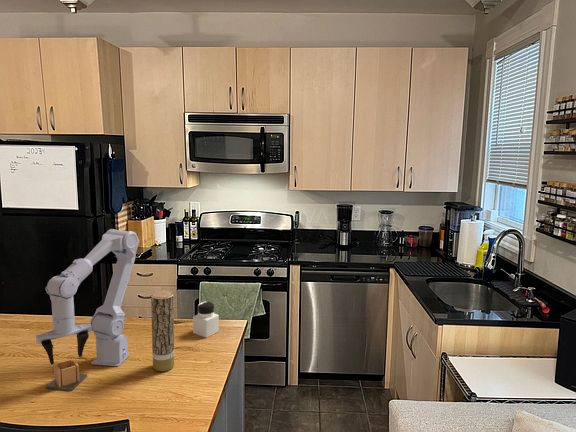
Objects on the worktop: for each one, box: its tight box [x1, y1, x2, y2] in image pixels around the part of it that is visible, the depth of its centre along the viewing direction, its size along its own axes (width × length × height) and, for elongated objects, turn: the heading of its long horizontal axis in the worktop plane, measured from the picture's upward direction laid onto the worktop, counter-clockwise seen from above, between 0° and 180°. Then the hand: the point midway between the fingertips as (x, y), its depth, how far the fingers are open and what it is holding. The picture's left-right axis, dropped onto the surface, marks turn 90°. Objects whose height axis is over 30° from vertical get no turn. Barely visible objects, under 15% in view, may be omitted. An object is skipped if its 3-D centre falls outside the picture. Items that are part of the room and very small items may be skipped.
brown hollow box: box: [53, 358, 80, 387], centre depth 127 cm, size 6×6×5 cm
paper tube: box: [150, 289, 175, 372], centre depth 137 cm, size 7×7×25 cm
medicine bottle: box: [192, 301, 220, 338], centre depth 165 cm, size 7×7×12 cm
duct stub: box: [45, 367, 88, 392], centre depth 128 cm, size 8×8×4 cm
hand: (66, 359), depth 127 cm, fingers open, 7 cm apart
